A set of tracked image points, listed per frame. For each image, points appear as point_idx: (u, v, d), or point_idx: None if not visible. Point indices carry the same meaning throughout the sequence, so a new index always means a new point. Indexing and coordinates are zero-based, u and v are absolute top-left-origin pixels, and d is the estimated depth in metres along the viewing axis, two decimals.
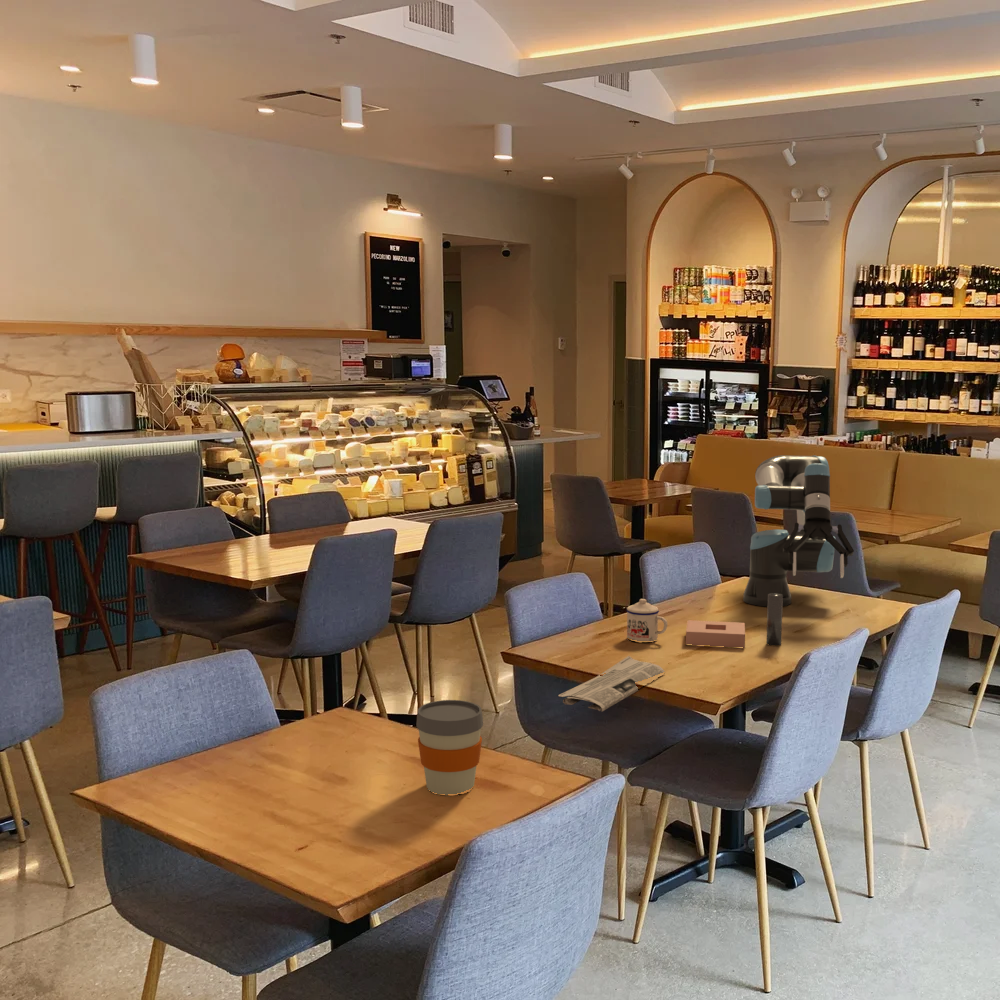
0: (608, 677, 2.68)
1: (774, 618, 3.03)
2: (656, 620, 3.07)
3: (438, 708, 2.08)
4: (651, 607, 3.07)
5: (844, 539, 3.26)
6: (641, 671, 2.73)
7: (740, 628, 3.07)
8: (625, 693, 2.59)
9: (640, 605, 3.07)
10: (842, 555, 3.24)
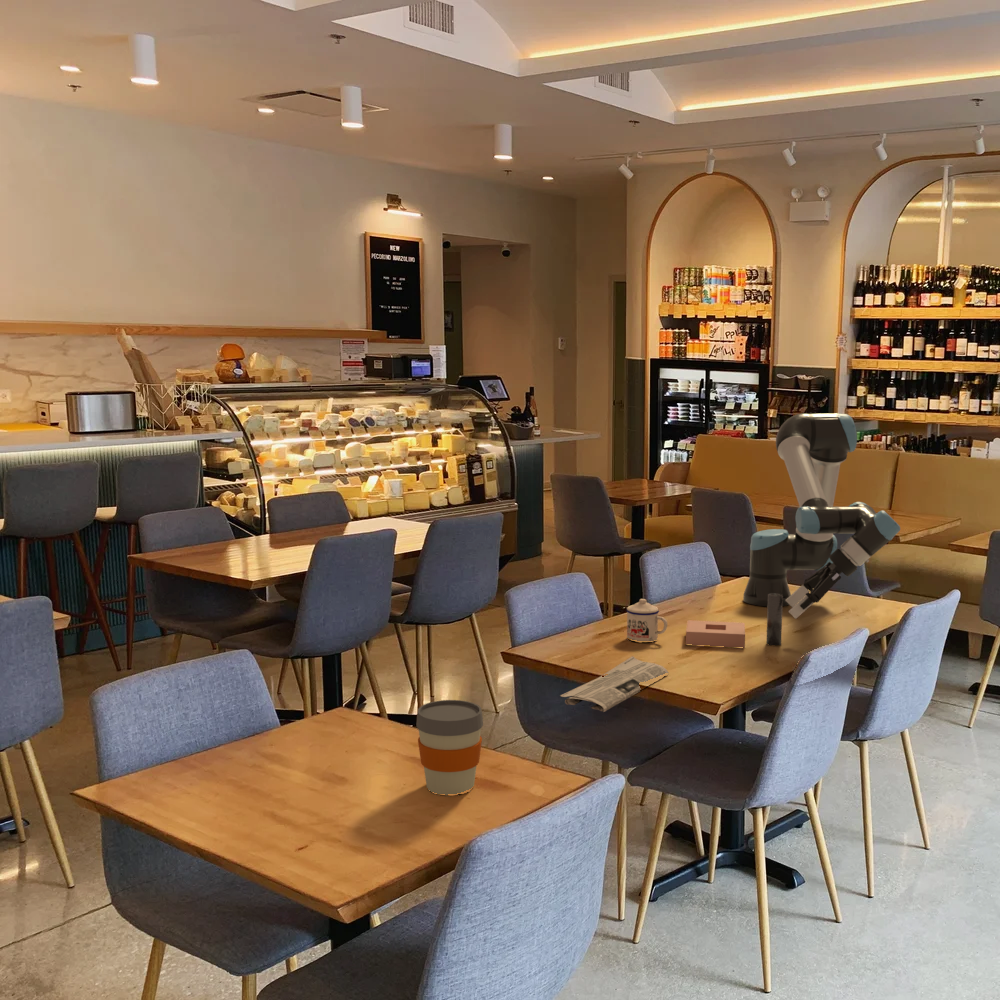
0: (611, 677, 2.68)
1: (774, 618, 3.03)
2: (656, 620, 3.07)
3: (438, 708, 2.08)
4: (651, 607, 3.07)
5: None
6: (645, 672, 2.72)
7: (740, 628, 3.07)
8: (627, 693, 2.59)
9: (640, 605, 3.07)
10: None
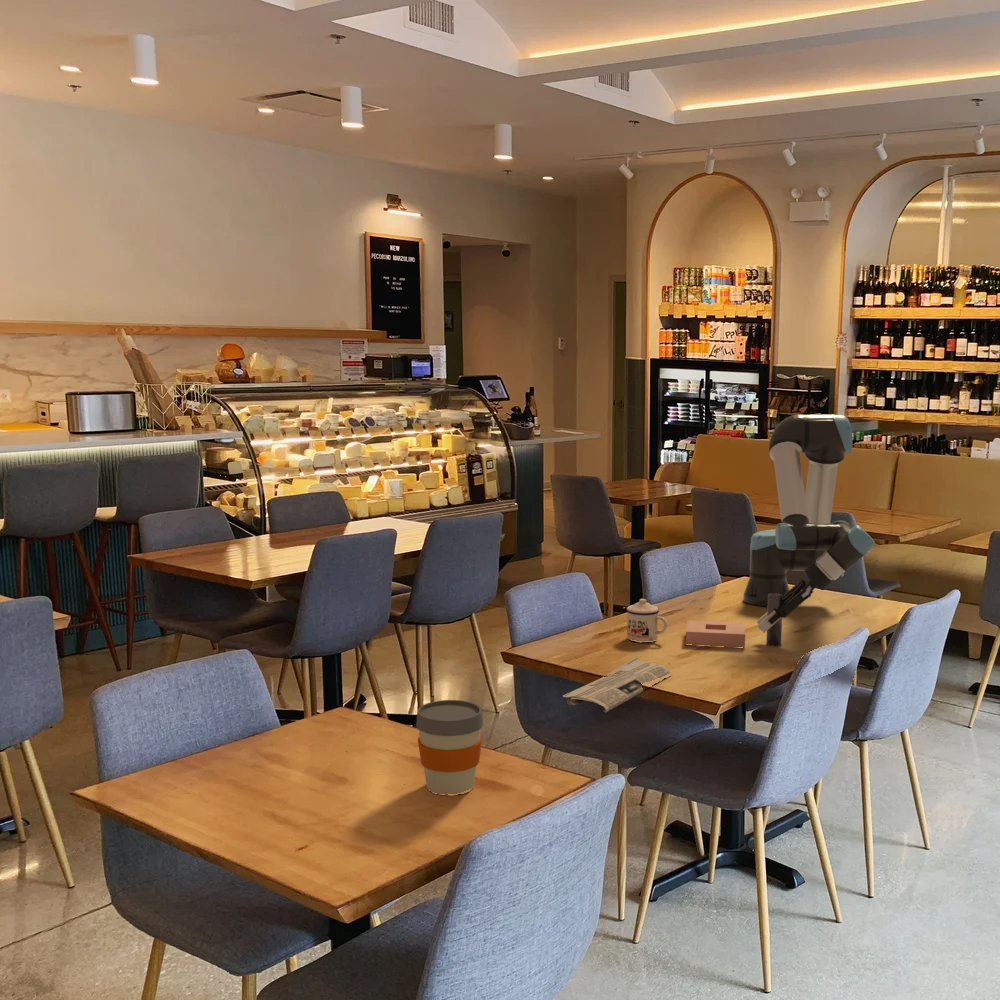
0: (614, 678, 2.67)
1: None
2: (656, 620, 3.07)
3: (438, 708, 2.08)
4: (651, 607, 3.07)
5: None
6: (648, 673, 2.72)
7: (740, 628, 3.07)
8: (630, 694, 2.58)
9: (640, 605, 3.07)
10: None
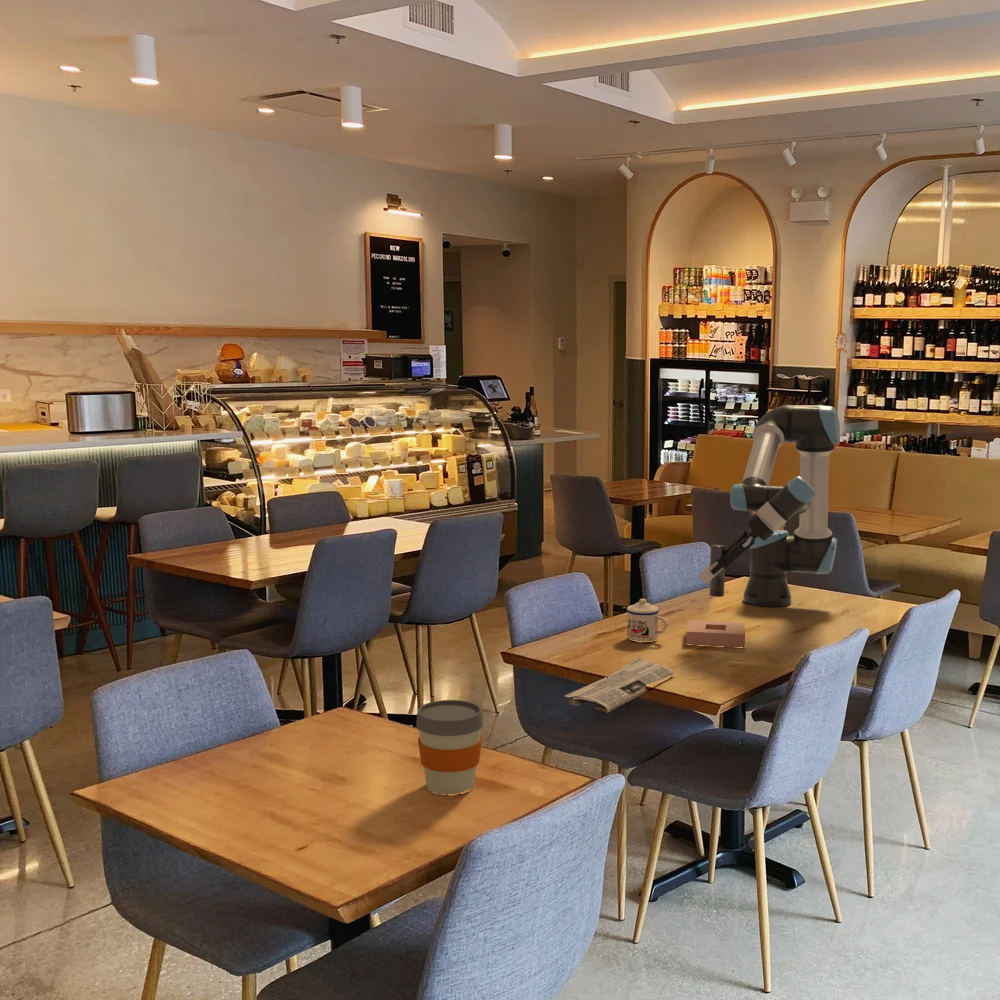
0: (616, 678, 2.67)
1: None
2: (656, 620, 3.07)
3: (438, 708, 2.08)
4: (651, 607, 3.07)
5: None
6: (651, 673, 2.72)
7: (740, 628, 3.07)
8: (632, 694, 2.58)
9: (640, 605, 3.07)
10: None
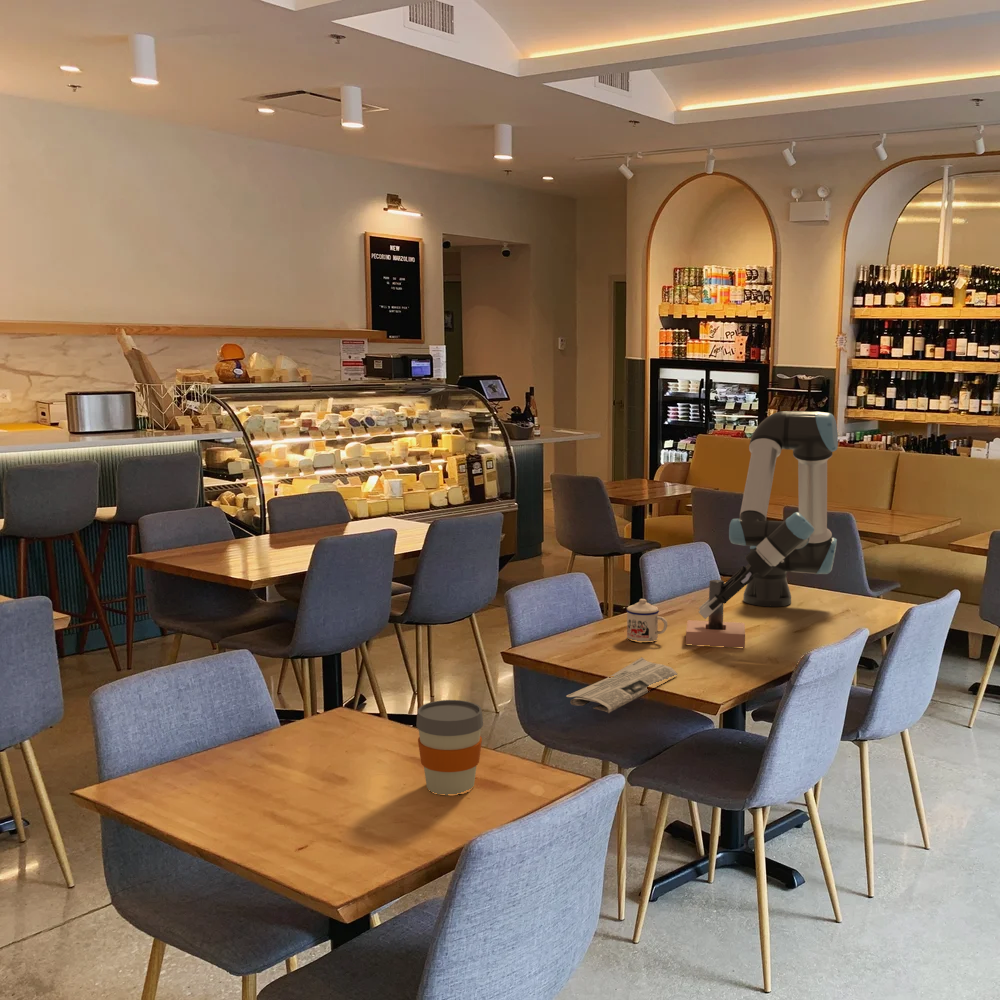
0: (618, 678, 2.67)
1: None
2: (656, 620, 3.07)
3: (438, 708, 2.08)
4: (651, 607, 3.07)
5: None
6: (653, 673, 2.71)
7: (740, 628, 3.07)
8: (634, 695, 2.58)
9: (640, 605, 3.07)
10: None
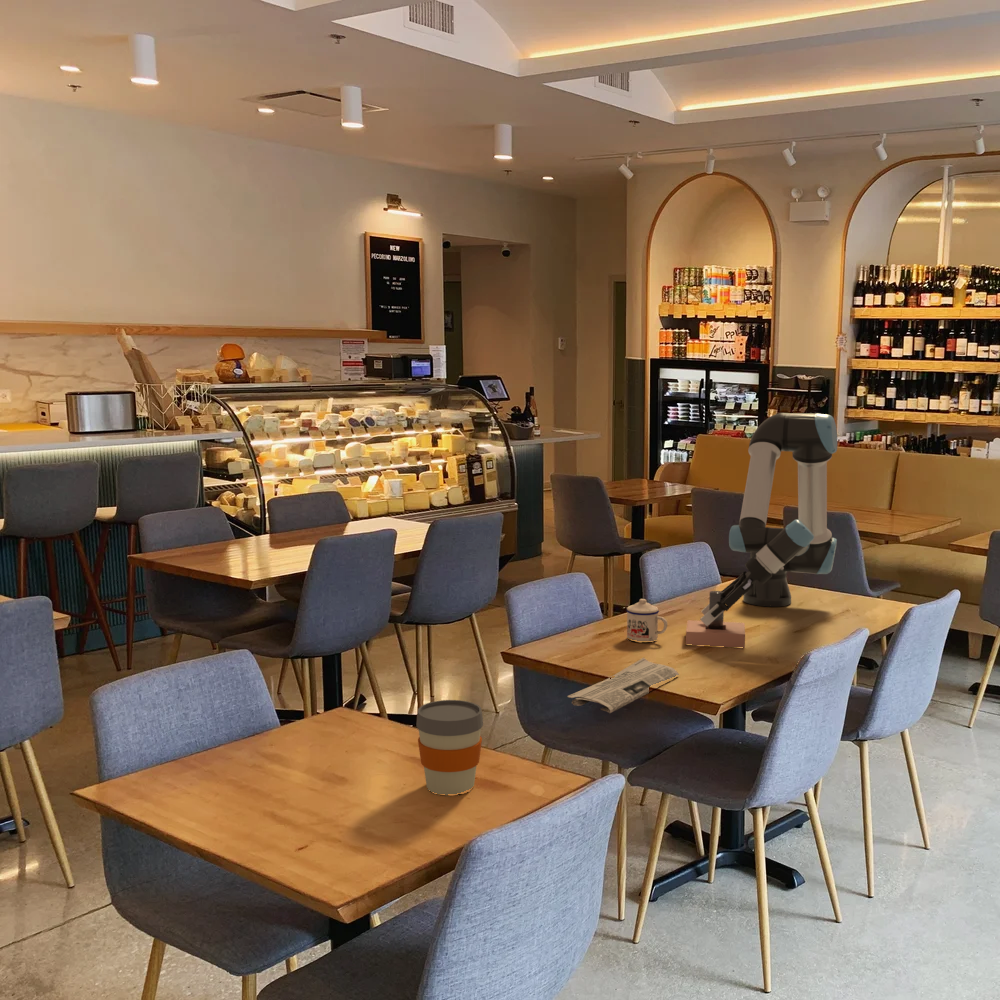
0: (620, 679, 2.67)
1: None
2: (656, 620, 3.07)
3: (438, 708, 2.08)
4: (651, 607, 3.07)
5: None
6: (654, 674, 2.71)
7: (740, 628, 3.07)
8: (635, 695, 2.58)
9: (640, 605, 3.07)
10: None
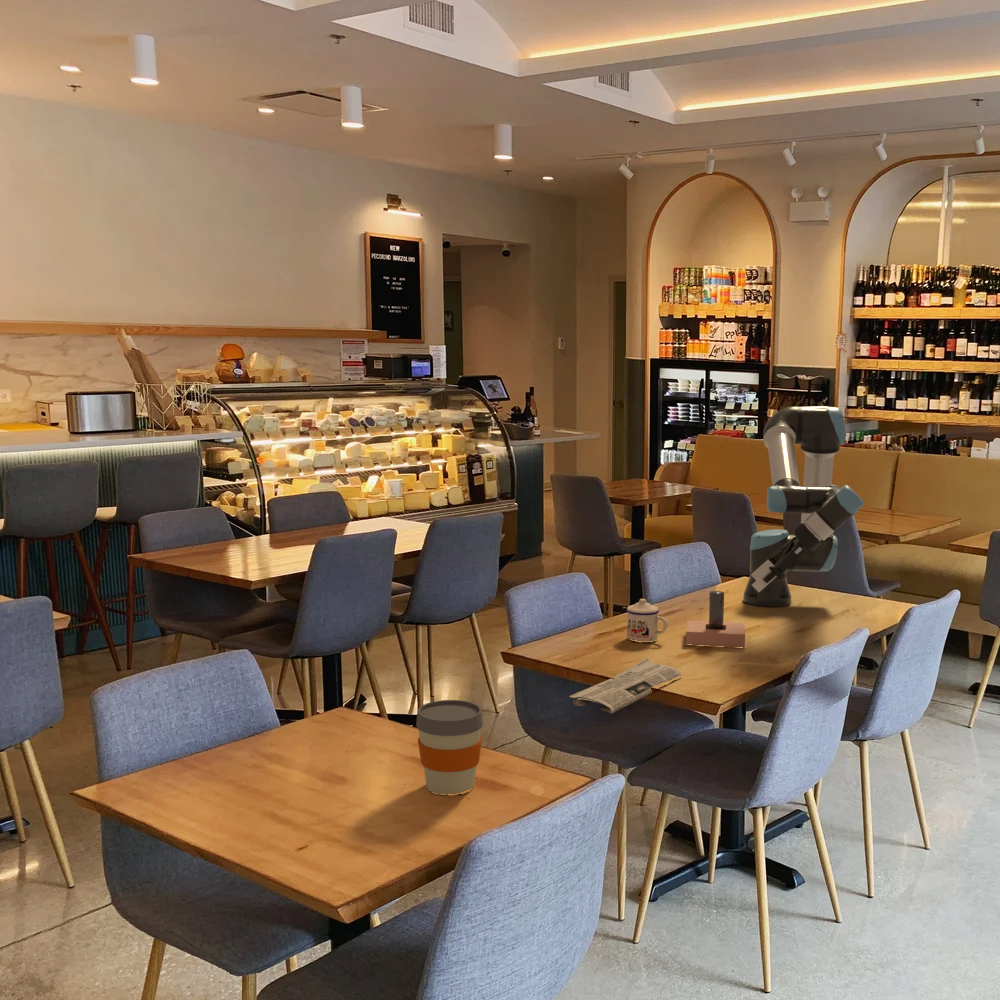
0: (622, 679, 2.66)
1: (715, 616, 3.06)
2: (656, 620, 3.07)
3: (438, 708, 2.08)
4: (651, 607, 3.07)
5: None
6: (657, 674, 2.71)
7: (740, 628, 3.07)
8: (637, 695, 2.57)
9: (640, 605, 3.07)
10: None
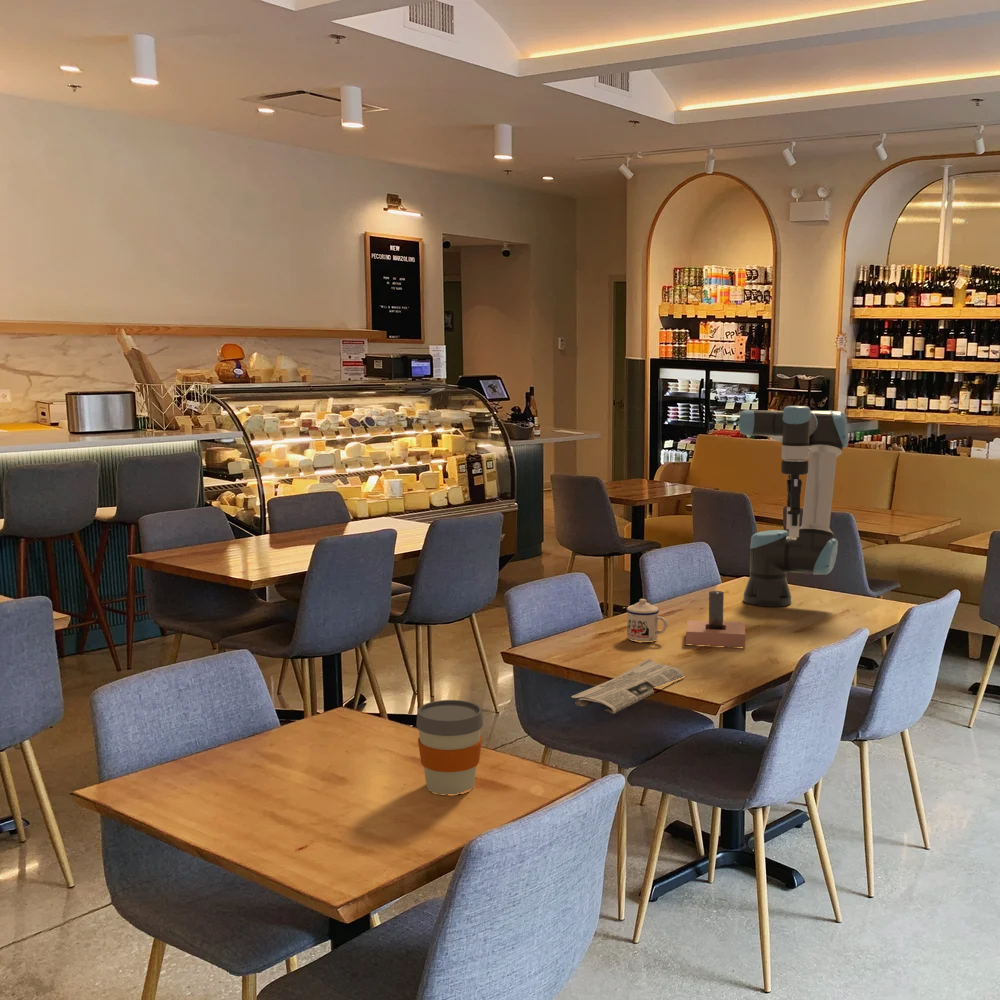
0: (625, 679, 2.66)
1: (715, 615, 3.06)
2: (656, 620, 3.07)
3: (438, 708, 2.08)
4: (651, 607, 3.07)
5: None
6: (660, 674, 2.70)
7: (740, 628, 3.07)
8: (639, 696, 2.57)
9: (640, 605, 3.07)
10: None
